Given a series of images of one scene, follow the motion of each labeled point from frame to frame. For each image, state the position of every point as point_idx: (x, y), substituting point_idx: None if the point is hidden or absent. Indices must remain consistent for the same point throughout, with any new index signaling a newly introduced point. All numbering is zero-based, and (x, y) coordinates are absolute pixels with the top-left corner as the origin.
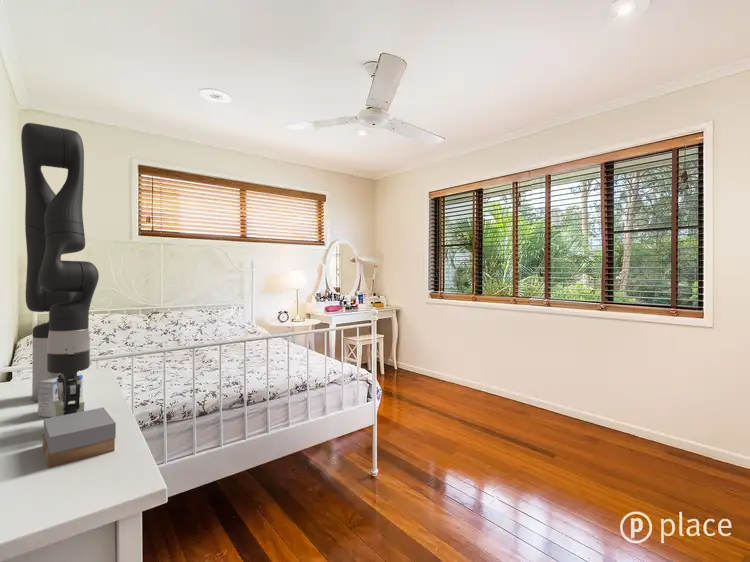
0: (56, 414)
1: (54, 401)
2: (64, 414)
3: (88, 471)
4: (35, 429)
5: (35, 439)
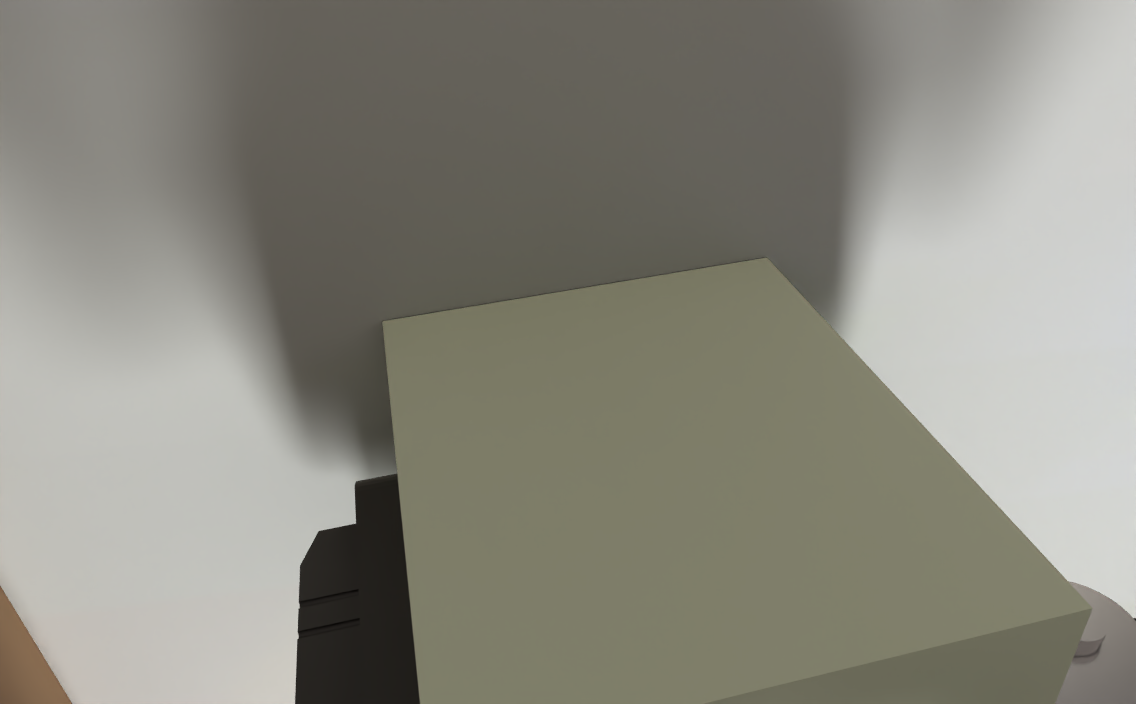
0: (413, 596)
1: (1057, 632)
2: (370, 694)
3: None
4: (891, 14)
5: (284, 51)
